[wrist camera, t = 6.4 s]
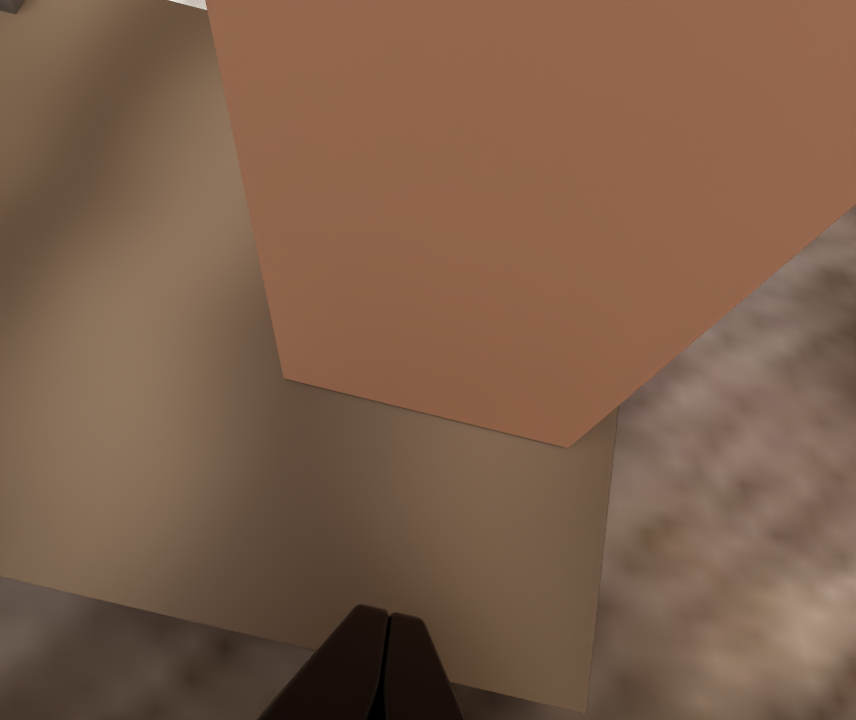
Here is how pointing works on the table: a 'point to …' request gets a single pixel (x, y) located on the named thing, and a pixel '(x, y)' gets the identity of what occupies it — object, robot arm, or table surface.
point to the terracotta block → (528, 186)
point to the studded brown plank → (238, 394)
